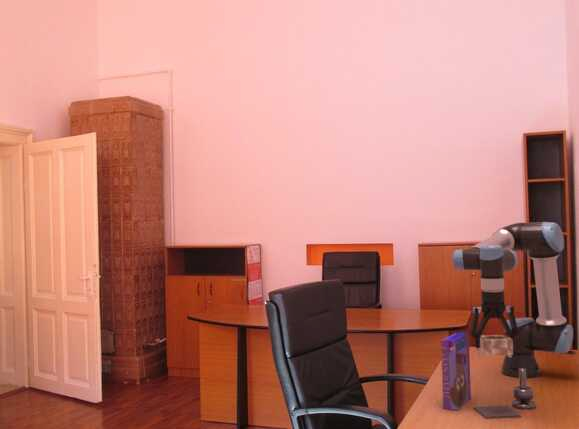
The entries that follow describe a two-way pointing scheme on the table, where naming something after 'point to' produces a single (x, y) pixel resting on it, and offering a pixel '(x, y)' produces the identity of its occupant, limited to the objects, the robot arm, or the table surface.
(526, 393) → the steel stand
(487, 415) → the rubber mat
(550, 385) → the table surface
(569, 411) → the table surface
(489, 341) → the square frame
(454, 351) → the cereal box
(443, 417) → the table surface
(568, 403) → the table surface
